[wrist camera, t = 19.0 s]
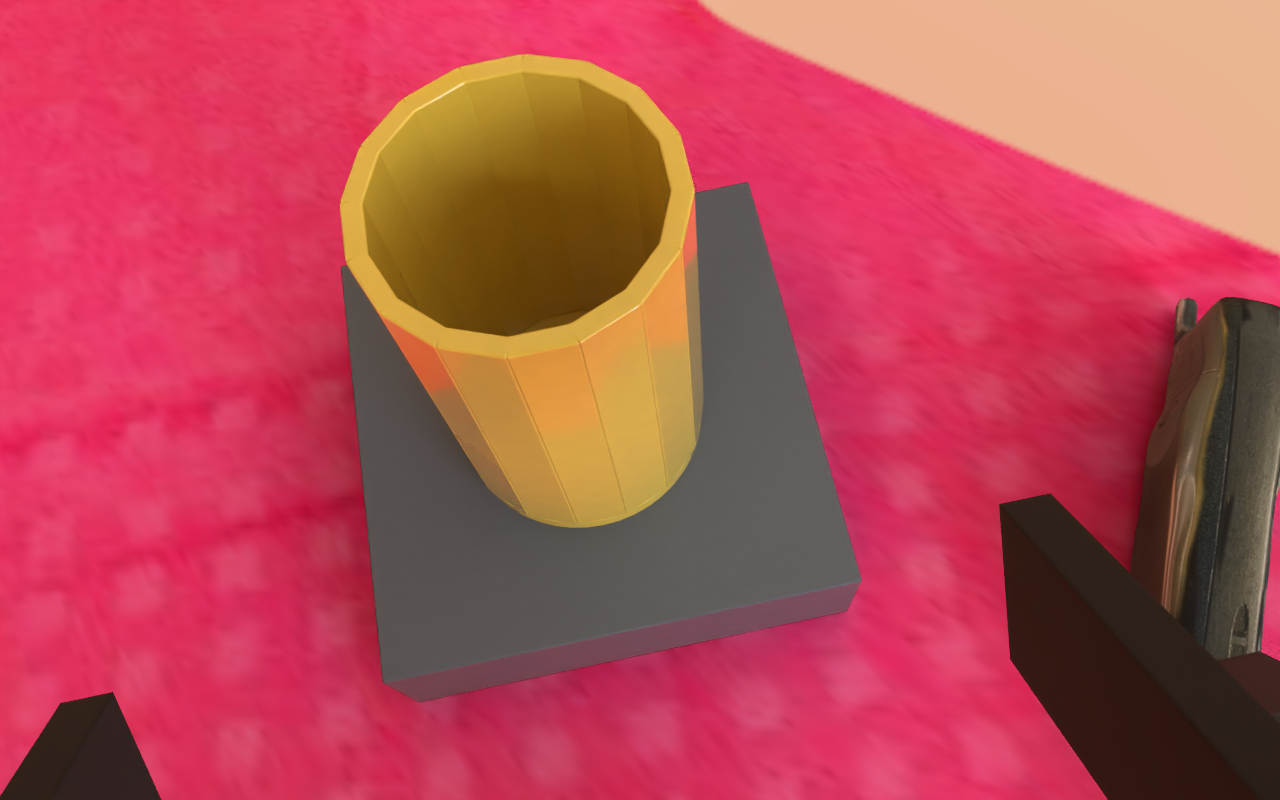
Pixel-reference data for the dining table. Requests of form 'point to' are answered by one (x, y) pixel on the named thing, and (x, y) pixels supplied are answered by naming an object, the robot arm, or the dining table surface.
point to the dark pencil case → (1214, 476)
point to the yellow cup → (539, 279)
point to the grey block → (620, 551)
